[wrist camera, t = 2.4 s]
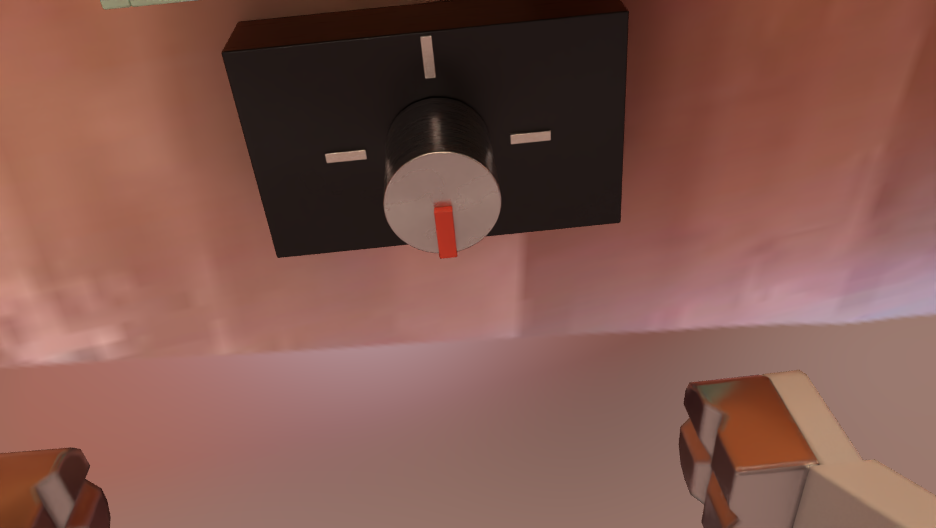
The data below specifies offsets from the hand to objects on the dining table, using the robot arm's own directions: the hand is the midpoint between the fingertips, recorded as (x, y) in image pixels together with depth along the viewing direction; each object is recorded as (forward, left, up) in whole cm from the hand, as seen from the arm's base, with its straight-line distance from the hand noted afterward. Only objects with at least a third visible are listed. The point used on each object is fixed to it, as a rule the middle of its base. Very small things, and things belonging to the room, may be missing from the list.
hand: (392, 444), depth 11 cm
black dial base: (-1, +4, -20) cm, 20 cm away
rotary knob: (-1, +4, -17) cm, 18 cm away
